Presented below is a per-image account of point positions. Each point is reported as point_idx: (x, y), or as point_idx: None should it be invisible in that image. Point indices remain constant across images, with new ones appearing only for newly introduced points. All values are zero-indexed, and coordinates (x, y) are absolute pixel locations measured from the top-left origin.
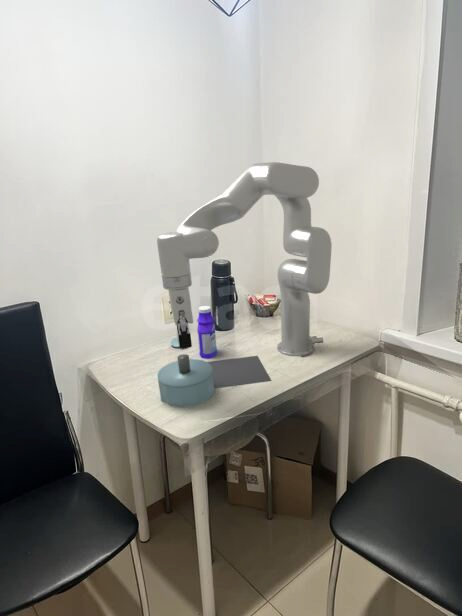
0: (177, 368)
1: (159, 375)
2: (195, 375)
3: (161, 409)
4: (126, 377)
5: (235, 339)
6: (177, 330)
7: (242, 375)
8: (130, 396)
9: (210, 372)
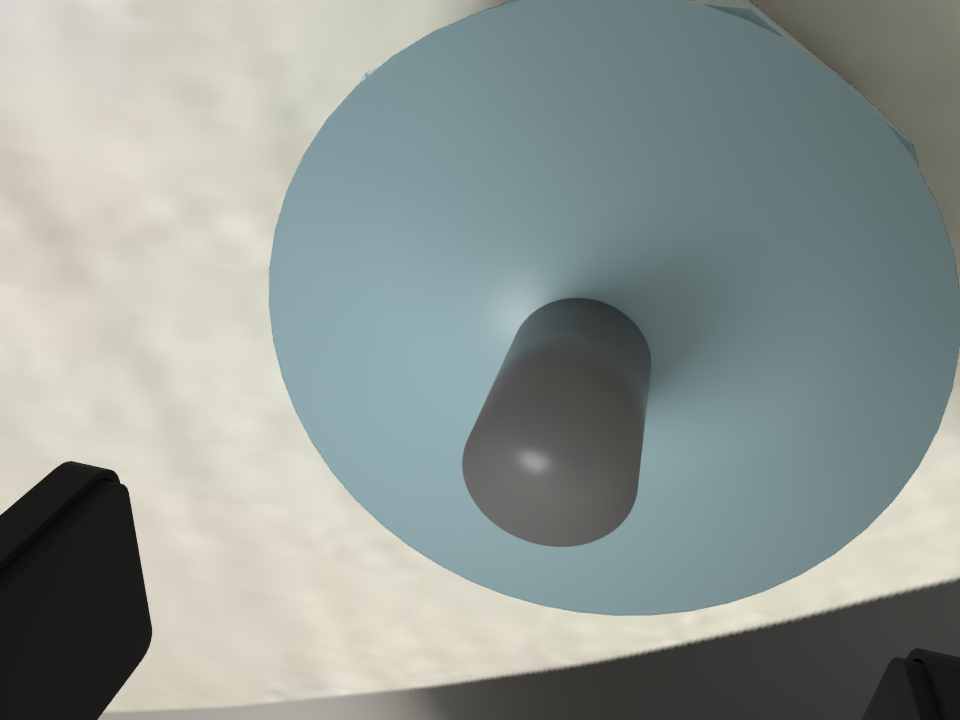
0: (469, 413)
1: (549, 591)
2: (764, 280)
3: None
4: (208, 590)
5: None
6: (90, 714)
7: None
8: (482, 625)
9: (799, 60)
